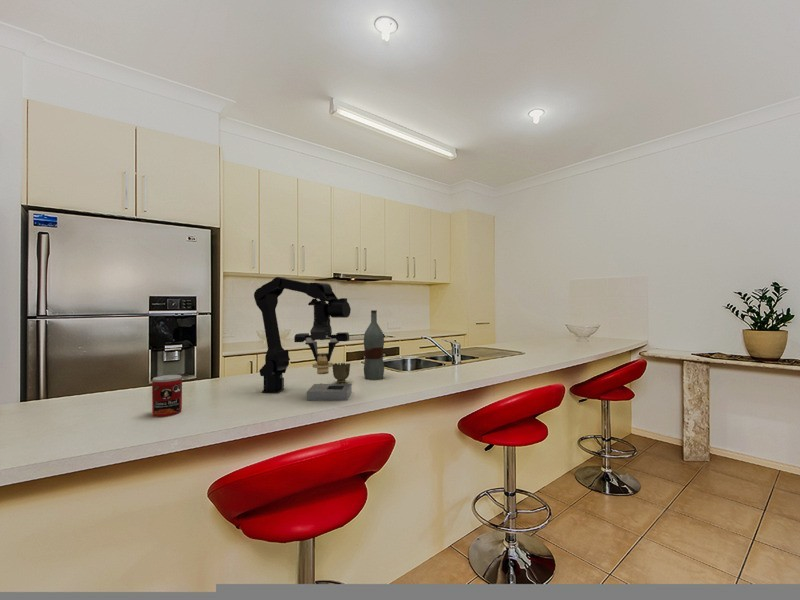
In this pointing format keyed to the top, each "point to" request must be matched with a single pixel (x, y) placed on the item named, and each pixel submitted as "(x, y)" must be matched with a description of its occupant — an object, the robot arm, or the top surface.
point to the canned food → (166, 395)
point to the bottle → (373, 350)
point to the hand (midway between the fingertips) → (322, 361)
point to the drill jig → (329, 392)
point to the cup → (341, 372)
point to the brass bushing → (322, 363)
